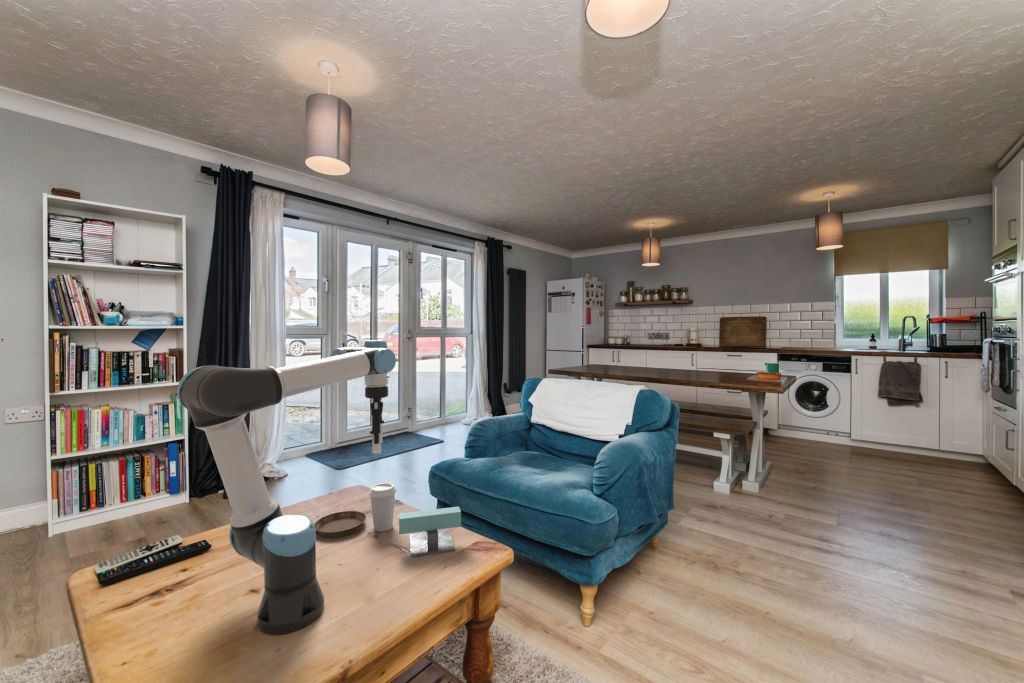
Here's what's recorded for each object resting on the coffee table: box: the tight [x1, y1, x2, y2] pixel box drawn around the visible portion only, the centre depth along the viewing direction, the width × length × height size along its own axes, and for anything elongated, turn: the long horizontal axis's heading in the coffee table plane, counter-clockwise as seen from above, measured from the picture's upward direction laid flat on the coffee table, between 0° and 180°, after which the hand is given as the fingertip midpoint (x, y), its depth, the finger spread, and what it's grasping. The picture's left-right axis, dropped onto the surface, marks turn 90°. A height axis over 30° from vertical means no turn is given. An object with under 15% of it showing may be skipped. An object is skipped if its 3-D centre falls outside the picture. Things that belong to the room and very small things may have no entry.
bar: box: [398, 506, 462, 535], centre depth 144 cm, size 4×20×5 cm, turn 105°
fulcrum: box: [409, 528, 456, 558], centre depth 145 cm, size 14×14×6 cm
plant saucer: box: [314, 510, 367, 538], centre depth 158 cm, size 18×18×3 cm
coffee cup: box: [368, 482, 397, 533], centre depth 158 cm, size 10×10×15 cm
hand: (377, 447), depth 148 cm, fingers open, 13 cm apart
